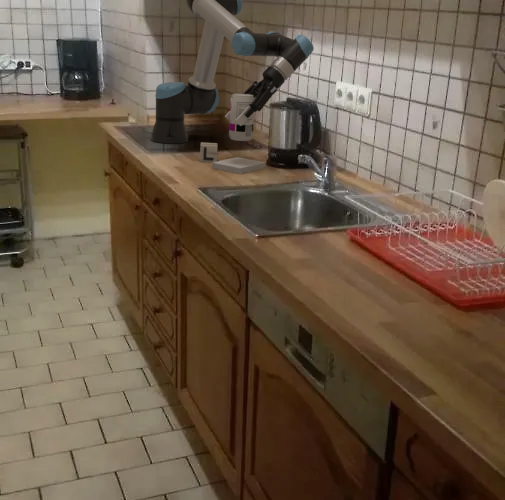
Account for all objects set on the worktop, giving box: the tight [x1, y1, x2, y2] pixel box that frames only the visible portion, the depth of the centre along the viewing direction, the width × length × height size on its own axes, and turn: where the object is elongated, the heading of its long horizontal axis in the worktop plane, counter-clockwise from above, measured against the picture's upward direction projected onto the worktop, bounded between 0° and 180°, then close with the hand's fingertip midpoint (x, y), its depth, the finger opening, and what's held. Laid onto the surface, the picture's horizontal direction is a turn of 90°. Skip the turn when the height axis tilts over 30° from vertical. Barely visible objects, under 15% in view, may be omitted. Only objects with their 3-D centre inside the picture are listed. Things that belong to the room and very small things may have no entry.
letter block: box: [199, 142, 218, 164], centre depth 245 cm, size 6×6×6 cm
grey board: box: [211, 156, 266, 175], centre depth 236 cm, size 15×12×2 cm
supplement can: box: [228, 93, 255, 142], centre depth 231 cm, size 8×8×15 cm
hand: (232, 121), depth 230 cm, fingers closed on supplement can, 8 cm apart
